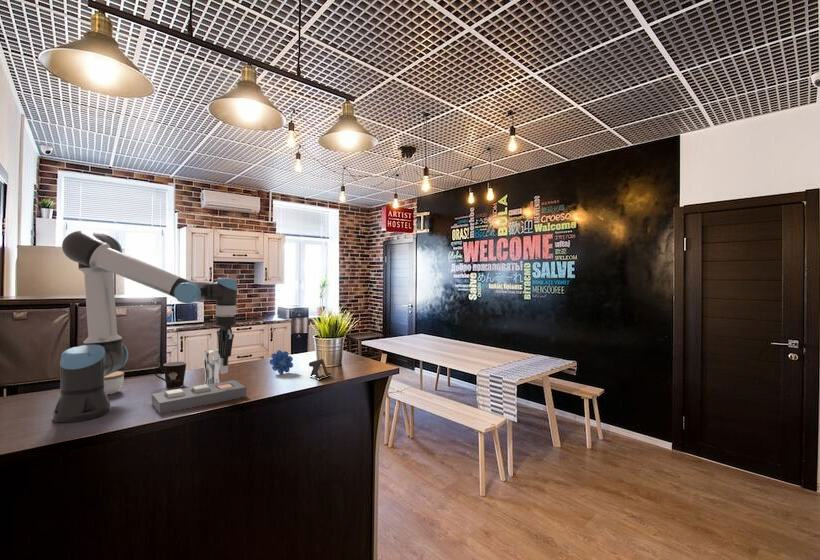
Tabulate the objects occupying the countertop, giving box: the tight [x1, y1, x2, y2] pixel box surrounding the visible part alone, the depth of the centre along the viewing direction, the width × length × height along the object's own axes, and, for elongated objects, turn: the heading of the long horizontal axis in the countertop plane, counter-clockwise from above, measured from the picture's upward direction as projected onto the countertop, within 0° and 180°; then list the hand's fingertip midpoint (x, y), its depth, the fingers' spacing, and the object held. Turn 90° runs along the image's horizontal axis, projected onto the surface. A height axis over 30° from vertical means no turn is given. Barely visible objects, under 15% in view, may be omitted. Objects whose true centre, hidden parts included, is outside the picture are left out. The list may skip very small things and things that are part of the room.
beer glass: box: [203, 349, 220, 385], centre depth 173 cm, size 7×7×15 cm
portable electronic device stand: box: [308, 358, 332, 379], centre depth 186 cm, size 9×8×8 cm
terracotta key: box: [217, 384, 234, 389], centre depth 156 cm, size 5×5×3 cm
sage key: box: [191, 384, 210, 394], centre depth 150 cm, size 5×5×3 cm
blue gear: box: [269, 349, 294, 374], centre depth 192 cm, size 12×7×12 cm, turn 121°
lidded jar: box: [104, 370, 125, 396], centre depth 157 cm, size 11×11×9 cm
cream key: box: [164, 388, 184, 398], centre depth 143 cm, size 5×5×3 cm
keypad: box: [151, 379, 247, 415], centre depth 150 cm, size 30×14×4 cm, turn 134°
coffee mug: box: [153, 361, 187, 389], centre depth 168 cm, size 12×9×10 cm
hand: (223, 373), depth 156 cm, fingers closed
